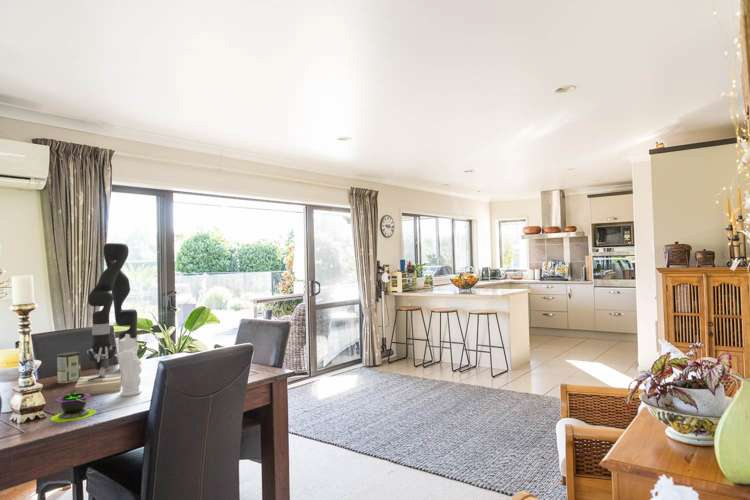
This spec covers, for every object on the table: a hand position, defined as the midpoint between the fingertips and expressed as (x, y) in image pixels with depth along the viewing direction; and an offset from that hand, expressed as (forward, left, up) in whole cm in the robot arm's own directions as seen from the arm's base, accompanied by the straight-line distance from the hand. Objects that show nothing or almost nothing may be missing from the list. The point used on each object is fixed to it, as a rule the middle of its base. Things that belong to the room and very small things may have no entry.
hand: (101, 368), depth 233 cm
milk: (-17, +11, -9) cm, 22 cm away
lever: (+3, -2, -4) cm, 5 cm away
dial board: (+3, -1, -8) cm, 9 cm away
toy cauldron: (+48, -7, -9) cm, 49 cm away
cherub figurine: (+23, +11, -9) cm, 27 cm away
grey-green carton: (-24, -16, -9) cm, 30 cm away
